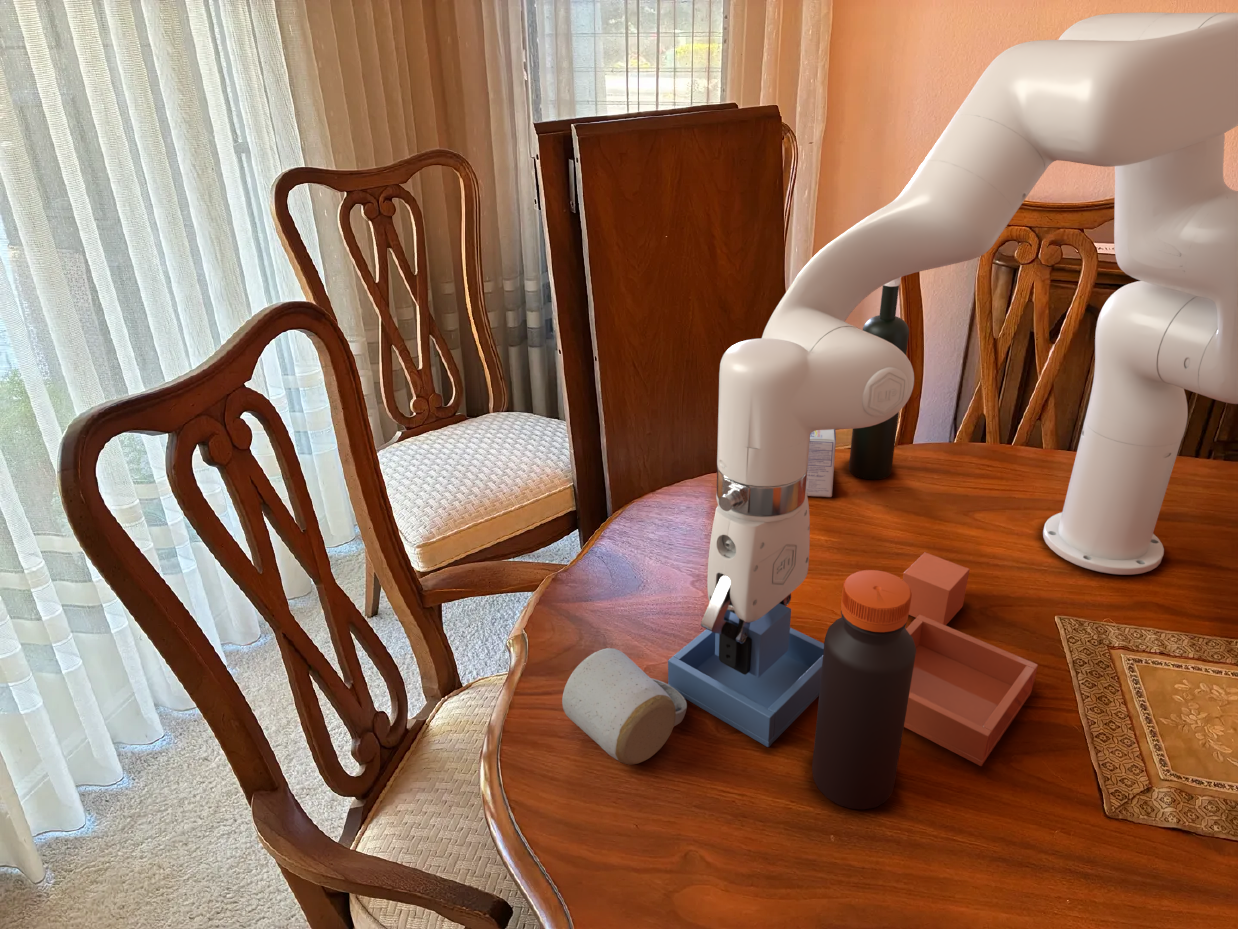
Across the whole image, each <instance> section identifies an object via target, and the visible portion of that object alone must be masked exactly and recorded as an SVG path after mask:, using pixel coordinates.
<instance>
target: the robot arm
mask: <svg viewBox="0 0 1238 929" xmlns="http://www.w3.org/2000/svg"><path fill="white" fill-rule="evenodd" d="M1237 126H1238V12H1160V11H1159V12H1156V11H1154V12H1153V11H1151V12H1150V11H1149V12H1115V13H1105V14H1098V15H1097V14H1096V15H1093V16H1089V17H1086V18H1084V19H1081V20H1079V21H1077V22H1074V24H1072V25H1071V26H1069V27H1068V28H1066V30H1065V31H1064V32H1063V33H1062V34H1061V35H1060V36H1059V38H1058V39H1039V40H1030V41H1025V42H1021V43H1017V44H1015V45H1013V46H1010V47H1009V48H1007V49H1005V50H1003V51H1002V52H1000V53H999V54H998V55H997V56H996V57H995V58H994V59H993V60H992V61H990V63H989V64H988V66H987V67H986V68H985V70H984V71H983V72H982V74H981V75H980V77H979V78H978V80H977V81H976V83H975V84H974V85H973V87H972V89H971V91H970V92H969V94H967V96H966V97H965V99H964V100H963V101H962V104H961V105H960V106H959V108H958V109H957V111H956V112H955V113H954V115H953V116H952V118H951V119H950V121H949V123H948V124H947V126H946V127H945V129H944V130H943V132H942V133H941V135H940V136H939V137H938V139H937V140H936V142H935V144H934V145H933V146H932V148H931V149H930V151H929V152H928V154H927V155H926V156H925V158H924V160H923V161H922V162H921V164H920V165H919V166H918V168H917V170H916V171H915V172H914V174H913V176H912V177H911V179H910V180H909V182H908V183H907V184H906V186H904V189H903V190H902V191H901V192H900V193H899V195H898V196H896V197H895V199H894V200H892V201H891V202H889V203H888V204H886V205H885V206H883V207H881V208H879V209H878V210H876V211H874V212H873V213H871V214H869V215H868V216H866V217H864V218H863V219H861V220H859V221H858V222H857V223H856V224H854V225H852V226H851V227H850V228H848V229H847V230H845V231H844V232H843V233H841V234H840V235H839V236H837V237H836V238H834V239H833V240H832V241H830V242H829V243H827V244H826V245H825V246H824V247H822V248H821V249H820V250H819V251H818V252H817V253H816V254H815V255H814V256H813V257H811V259H810V260H809V261H808V262H807V263H806V264H805V265H804V266H803V268H802V269H801V270H800V271H799V273H798V274H797V276H796V277H795V278H794V280H793V281H792V283H791V284H790V286H789V287H788V289H787V291H786V292H785V293H784V295H783V296H782V298H781V299H780V301H779V302H778V304H777V305H776V307H775V309H774V310H773V312H772V314H771V316H770V317H769V319H768V321H767V323H766V325H765V327H764V330H763V332H762V335H761V338H751V339H746V340H743V341H739V342H736V343H735V344H733V345H731V346H730V347H729V348H728V349H727V350H726V351H725V352H724V353H723V354H722V357H721V359H720V363H719V372H718V415H717V416H718V417H717V453H716V454H717V455H716V493H715V494H716V495H715V498H716V503H717V506H716V507H715V511H714V512H715V513H714V518H713V521H712V527H711V528H712V529H711V533H710V542H709V548H708V549H709V551H708V560H707V575H706V576H707V578H706V584H707V585H706V587H707V598H708V605H707V607H706V610H705V612H704V614H703V616H702V619H701V622H700V626H701V628H703V629H705V630H706V629H708V630H709V631H711V632H714V633H718V634H719V660H720V661H721V662H722V663H724V664H725V665H727V666H729V667H731V668H733V669H735V670H736V671H738V672H740V673H742V674H744V675H746V674H747V673H748V672H749V671H750V663H751V644H752V639H751V638H749V637H747V636H748V632H749V627H750V623H751V622H754V621H756V620H758V619H760V618H761V617H762V616H764V615H765V614H766V613H768V612H769V611H770V610H771V609H772V608H774V607H775V606H776V605H777V604H778V603H780V604H782V605H784V606H786V607H788V605H790V602H791V600H792V593H793V592H794V591H795V590H796V589H797V588H798V587H799V586H801V585H802V584H803V582H804V581H805V580H806V578H807V576H808V573H809V564H810V544H811V543H810V542H811V521H810V520H811V518H810V505H809V496H807V492H806V479H807V467H808V455H809V443H810V434H811V433H812V432H813V431H816V430H831V429H835V430H853V429H855V428H864V427H869V426H873V425H876V424H879V423H882V422H884V421H886V420H888V419H890V418H891V417H893V416H894V415H895V414H897V413H898V412H899V413H900V411H901V410H902V409H904V407H905V406H906V404H907V403H908V401H909V400H910V397H911V396H912V394H913V390H914V386H915V372H914V368H913V365H912V363H911V361H910V360H909V358H908V356H907V354H906V355H905V354H904V353H903V352H902V351H901V350H900V349H899V348H897V347H896V346H895V345H893V344H892V343H890V342H888V341H886V340H884V339H882V338H880V337H878V336H875V335H873V334H870V333H868V332H865V331H863V329H861V328H859V327H857V326H855V325H853V324H851V323H849V322H847V321H846V320H847V319H848V318H849V316H850V315H851V314H852V313H853V311H854V310H855V309H856V308H857V307H858V306H859V305H860V303H862V302H863V301H864V300H865V299H866V298H867V297H869V296H870V295H871V294H872V293H873V292H875V291H877V290H878V289H880V288H881V287H883V285H884V284H886V283H888V282H890V281H892V280H895V279H897V278H900V277H901V278H902V277H905V276H909V275H912V274H914V273H920V272H924V271H928V270H933V269H937V268H938V269H939V268H942V267H947V266H951V265H955V264H960V263H964V262H967V261H968V262H969V261H972V260H974V259H977V258H980V257H981V256H984V255H985V254H987V253H988V251H990V250H991V249H992V247H993V246H994V245H995V244H996V242H997V241H998V239H999V238H1000V236H1001V235H1002V233H1003V232H1004V230H1005V229H1006V227H1007V226H1008V224H1009V223H1010V222H1011V220H1012V219H1013V217H1014V216H1015V214H1016V213H1017V211H1018V210H1019V209H1020V207H1021V206H1022V205H1023V203H1024V201H1025V200H1026V199H1027V197H1028V196H1029V195H1030V193H1031V192H1032V190H1033V189H1034V188H1035V186H1036V185H1037V183H1038V182H1039V180H1040V178H1042V176H1043V175H1044V173H1045V172H1046V170H1048V168H1049V166H1051V165H1052V163H1054V162H1056V161H1061V162H1069V163H1075V164H1076V163H1077V164H1082V165H1090V166H1096V167H1107V168H1108V167H1114V212H1113V214H1114V216H1113V217H1114V220H1113V221H1114V222H1113V225H1114V226H1113V245H1114V255H1115V260H1116V263H1117V266H1118V267H1119V269H1120V270H1121V271H1122V272H1123V273H1124V274H1125V275H1127V276H1129V277H1130V278H1133V279H1135V280H1138V281H1134V282H1131V283H1128V284H1125V285H1123V286H1121V287H1120V288H1118V289H1117V290H1116V291H1114V292H1113V293H1112V294H1110V296H1109V297H1108V298H1107V299H1106V301H1105V302H1104V304H1103V306H1102V308H1101V310H1100V312H1099V314H1098V317H1097V321H1096V325H1095V326H1096V327H1095V336H1094V338H1095V339H1094V359H1095V360H1094V372H1093V380H1092V385H1091V386H1092V387H1091V392H1090V396H1089V401H1088V405H1087V410H1086V413H1085V417H1084V420H1083V426H1082V429H1081V434H1080V437H1079V442H1078V445H1077V450H1076V453H1075V454H1076V455H1075V458H1074V459H1075V460H1074V461H1073V462H1074V463H1073V466H1072V471H1071V475H1070V478H1069V482H1068V487H1067V492H1066V495H1065V500H1064V503H1063V507H1062V511H1061V512H1059V513H1056V514H1053V515H1052V516H1050V517H1049V518H1048V519H1047V520H1046V521H1045V523H1044V526H1043V530H1042V537H1043V540H1044V542H1045V544H1046V545H1047V546H1048V547H1049V549H1050V550H1051V551H1053V552H1054V553H1055V554H1056V555H1058V557H1061V558H1062V559H1064V560H1065V561H1067V562H1070V563H1072V564H1074V565H1076V566H1078V567H1081V568H1084V569H1085V570H1086V569H1087V570H1090V571H1094V572H1098V573H1104V574H1109V575H1117V576H1119V575H1120V576H1132V575H1140V574H1144V573H1147V572H1148V573H1149V572H1151V571H1152V570H1155V569H1156V568H1157V567H1159V565H1160V564H1161V563H1162V560H1163V557H1164V554H1165V548H1164V545H1163V543H1162V542H1161V540H1160V538H1159V537H1158V536H1156V534H1155V533H1154V531H1155V528H1156V525H1157V522H1158V518H1159V515H1160V512H1161V509H1162V506H1163V502H1164V499H1165V496H1166V492H1167V489H1168V485H1169V483H1170V479H1171V476H1172V473H1173V469H1174V466H1175V462H1176V461H1177V457H1178V452H1179V449H1180V446H1181V443H1182V440H1183V438H1184V435H1185V431H1186V428H1187V424H1188V415H1189V413H1188V412H1189V411H1188V401H1187V394H1186V391H1185V390H1187V391H1189V392H1193V393H1195V394H1198V395H1201V396H1204V397H1206V398H1209V399H1212V400H1215V401H1219V402H1223V403H1226V404H1233V405H1238V190H1234V189H1232V188H1231V187H1229V186H1228V185H1227V184H1226V182H1225V178H1224V162H1225V160H1224V158H1225V142H1226V141H1225V140H1226V139H1225V134H1226V133H1227V132H1229V131H1231V130H1233V129H1234V128H1237ZM730 612H732V613H734V614H736V615H737V617H738V618H739V624H738V627H737V626H735V625H734V624H732V623H730V622H729V617H730Z"/></svg>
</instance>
